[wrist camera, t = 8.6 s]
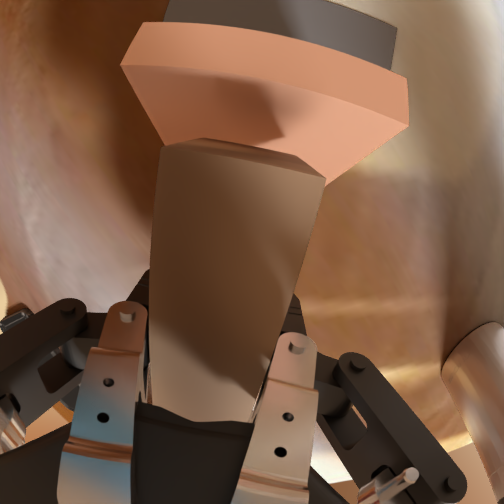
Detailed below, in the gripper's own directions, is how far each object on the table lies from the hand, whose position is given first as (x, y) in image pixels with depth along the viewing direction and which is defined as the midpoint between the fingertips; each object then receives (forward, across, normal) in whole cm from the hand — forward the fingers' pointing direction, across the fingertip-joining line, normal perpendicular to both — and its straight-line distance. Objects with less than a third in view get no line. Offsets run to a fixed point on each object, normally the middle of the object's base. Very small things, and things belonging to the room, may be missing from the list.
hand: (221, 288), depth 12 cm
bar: (0, 0, 0) cm, 0 cm away
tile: (+6, 0, -5) cm, 8 cm away
